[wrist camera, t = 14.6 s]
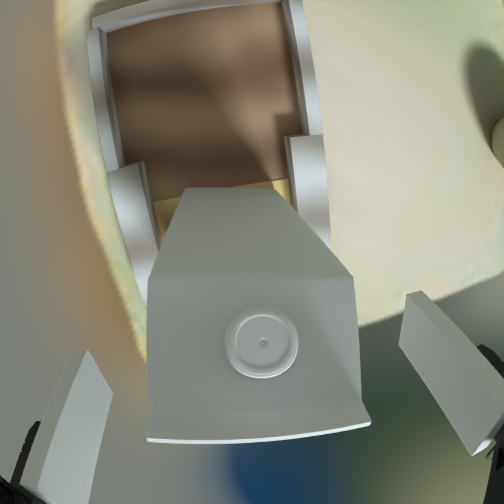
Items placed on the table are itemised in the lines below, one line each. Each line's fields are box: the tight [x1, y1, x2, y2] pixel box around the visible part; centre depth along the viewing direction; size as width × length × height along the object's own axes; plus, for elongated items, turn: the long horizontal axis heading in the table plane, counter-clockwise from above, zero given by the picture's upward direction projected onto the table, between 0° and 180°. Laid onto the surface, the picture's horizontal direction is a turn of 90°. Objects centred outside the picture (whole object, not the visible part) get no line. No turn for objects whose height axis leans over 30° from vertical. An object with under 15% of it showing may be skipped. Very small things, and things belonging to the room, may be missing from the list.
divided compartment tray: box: [86, 0, 331, 310], centre depth 23 cm, size 26×16×3 cm, turn 8°
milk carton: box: [146, 187, 371, 444], centre depth 17 cm, size 7×7×19 cm
